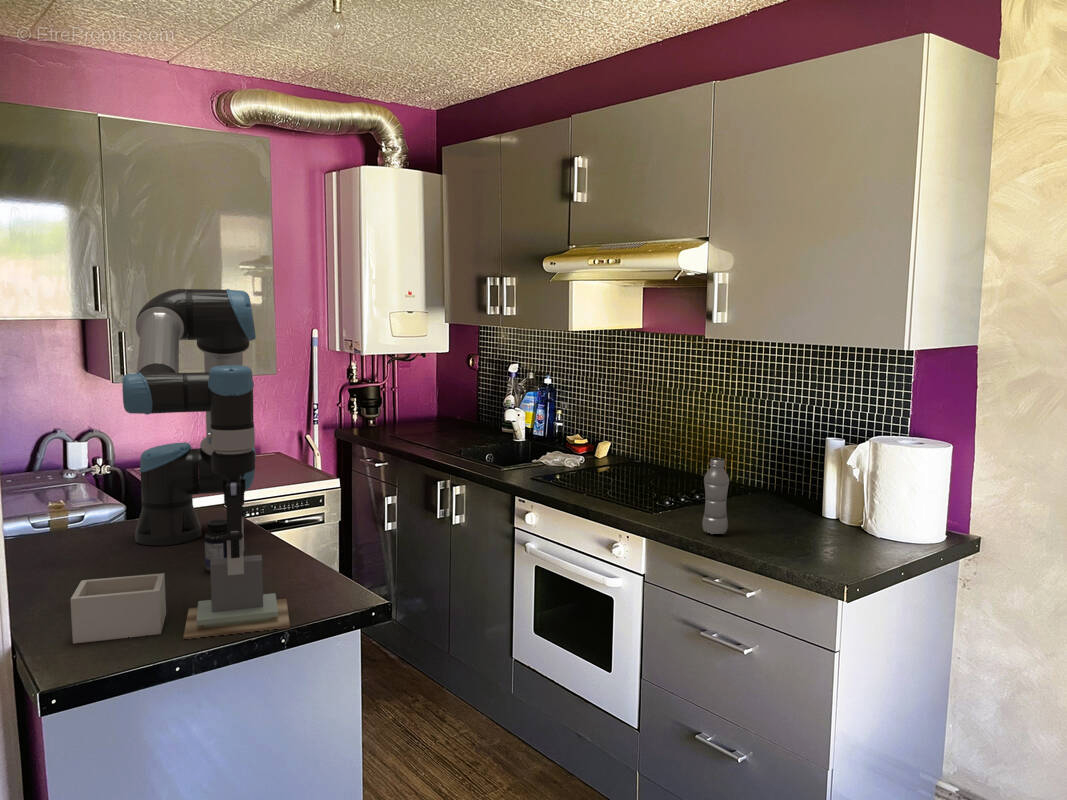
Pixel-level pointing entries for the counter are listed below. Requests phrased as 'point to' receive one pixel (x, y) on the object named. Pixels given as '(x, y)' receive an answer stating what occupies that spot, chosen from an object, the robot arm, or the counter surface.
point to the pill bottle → (215, 541)
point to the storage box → (118, 608)
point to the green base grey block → (236, 595)
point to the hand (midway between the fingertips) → (236, 562)
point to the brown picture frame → (201, 631)
